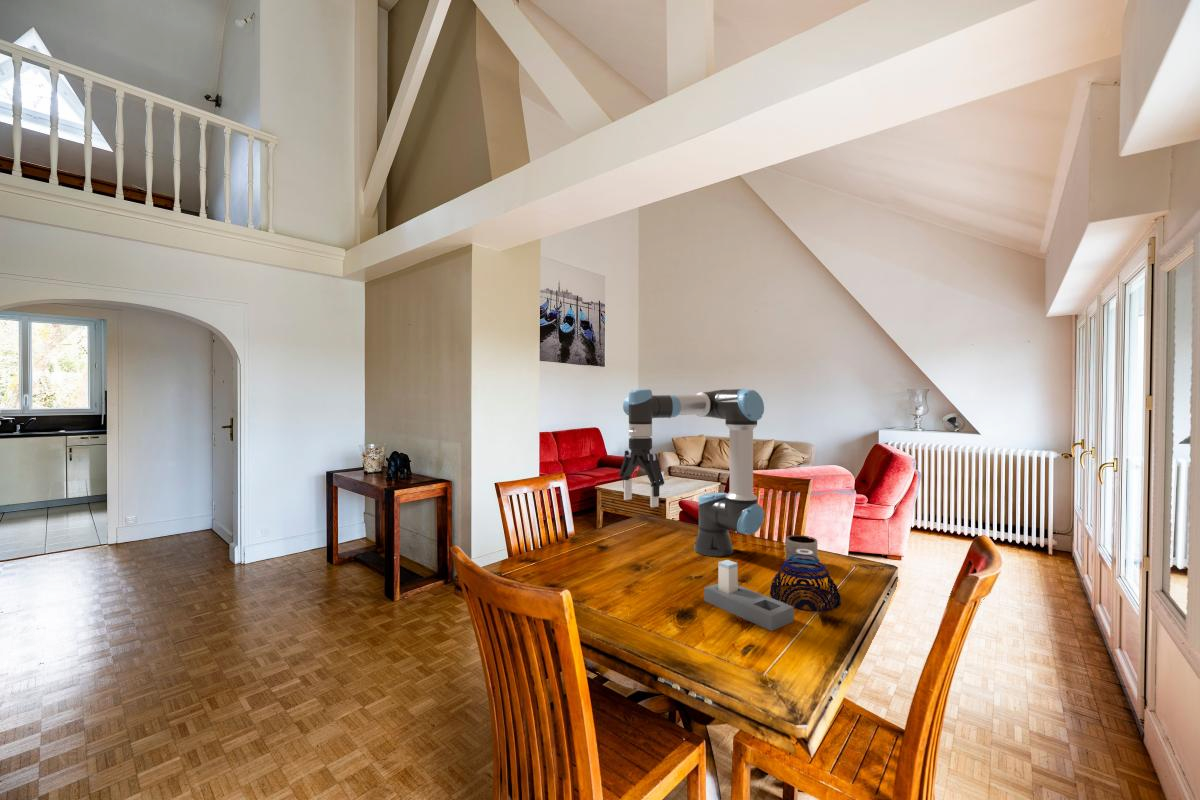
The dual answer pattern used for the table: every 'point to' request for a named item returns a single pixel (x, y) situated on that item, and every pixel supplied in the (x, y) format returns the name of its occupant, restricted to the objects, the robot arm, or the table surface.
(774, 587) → the decorative bowl
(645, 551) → the table surface
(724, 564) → the plug
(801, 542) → the planter
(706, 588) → the gray socket block
